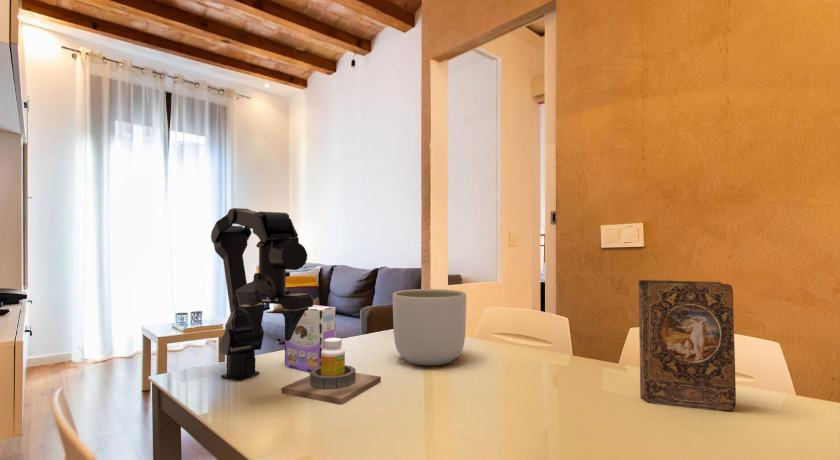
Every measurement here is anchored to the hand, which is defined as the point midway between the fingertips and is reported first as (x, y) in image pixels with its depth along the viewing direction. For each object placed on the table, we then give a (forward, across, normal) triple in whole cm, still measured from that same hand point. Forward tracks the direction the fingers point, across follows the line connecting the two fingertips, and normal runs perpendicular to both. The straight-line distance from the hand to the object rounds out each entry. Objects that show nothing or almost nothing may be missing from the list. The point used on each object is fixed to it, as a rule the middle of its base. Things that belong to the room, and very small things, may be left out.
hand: (271, 338), depth 96 cm
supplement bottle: (+11, +10, +9) cm, 17 cm away
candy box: (+12, -5, +19) cm, 23 cm away
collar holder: (+12, +10, +9) cm, 18 cm away
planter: (+12, +21, +39) cm, 46 cm away
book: (+12, +82, +32) cm, 89 cm away
